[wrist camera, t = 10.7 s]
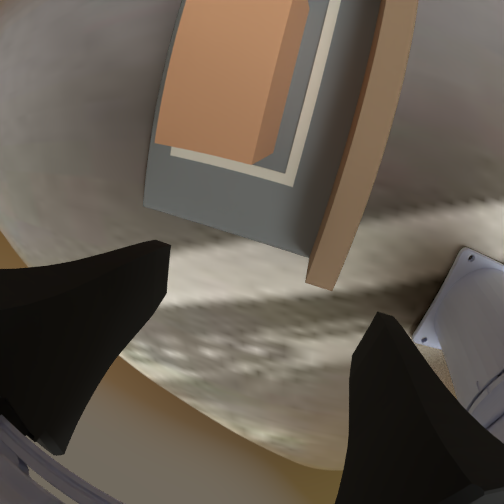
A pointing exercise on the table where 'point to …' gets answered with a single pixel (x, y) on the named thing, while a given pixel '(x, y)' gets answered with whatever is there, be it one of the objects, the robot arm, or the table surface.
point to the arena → (303, 141)
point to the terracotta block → (231, 76)
